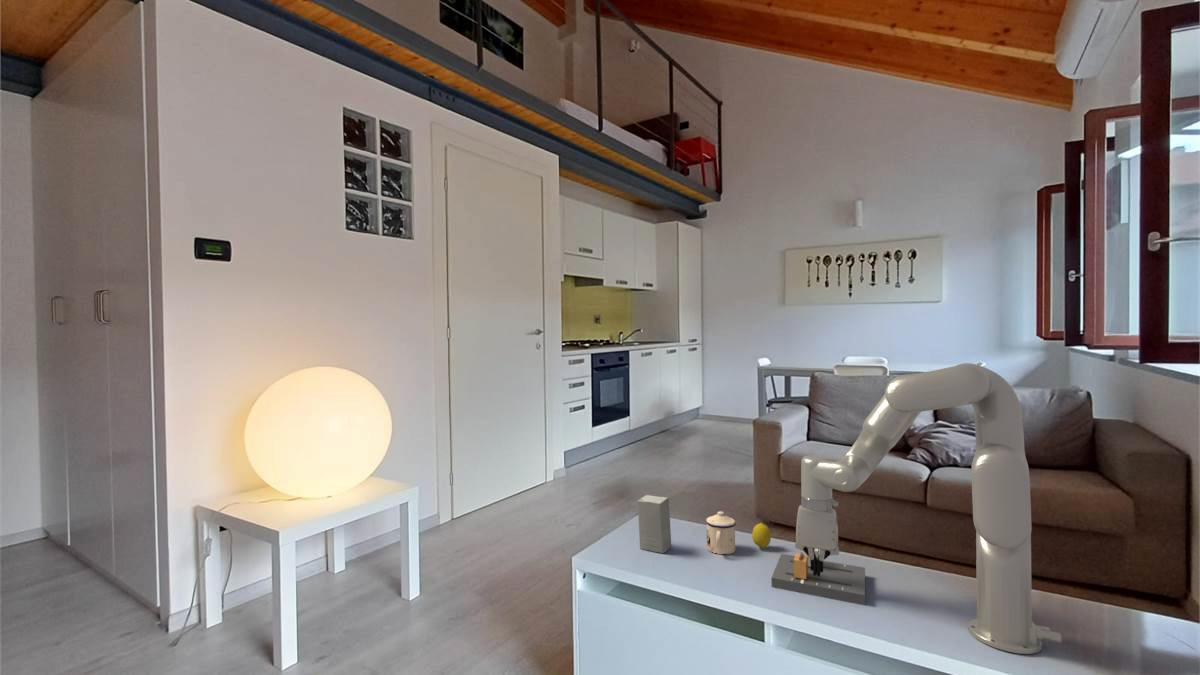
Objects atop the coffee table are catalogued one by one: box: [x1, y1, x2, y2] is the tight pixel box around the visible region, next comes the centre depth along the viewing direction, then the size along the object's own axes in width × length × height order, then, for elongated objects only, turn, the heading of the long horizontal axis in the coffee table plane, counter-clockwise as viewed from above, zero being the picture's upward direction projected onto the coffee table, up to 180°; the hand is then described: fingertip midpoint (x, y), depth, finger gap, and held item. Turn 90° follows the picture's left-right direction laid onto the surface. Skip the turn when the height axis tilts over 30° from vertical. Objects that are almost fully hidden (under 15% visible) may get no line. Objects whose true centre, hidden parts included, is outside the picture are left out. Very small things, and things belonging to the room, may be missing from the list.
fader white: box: [805, 548, 820, 567], centre depth 148 cm, size 3×5×5 cm, turn 153°
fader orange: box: [794, 551, 808, 579], centre depth 141 cm, size 3×5×5 cm, turn 153°
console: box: [770, 553, 866, 606], centre depth 143 cm, size 22×18×2 cm
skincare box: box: [637, 494, 672, 554], centre depth 166 cm, size 8×7×16 cm
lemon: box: [752, 522, 772, 549], centre depth 166 cm, size 6×6×8 cm
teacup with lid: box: [705, 510, 737, 555], centre depth 164 cm, size 12×9×12 cm
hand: (816, 573), depth 139 cm, fingers closed
